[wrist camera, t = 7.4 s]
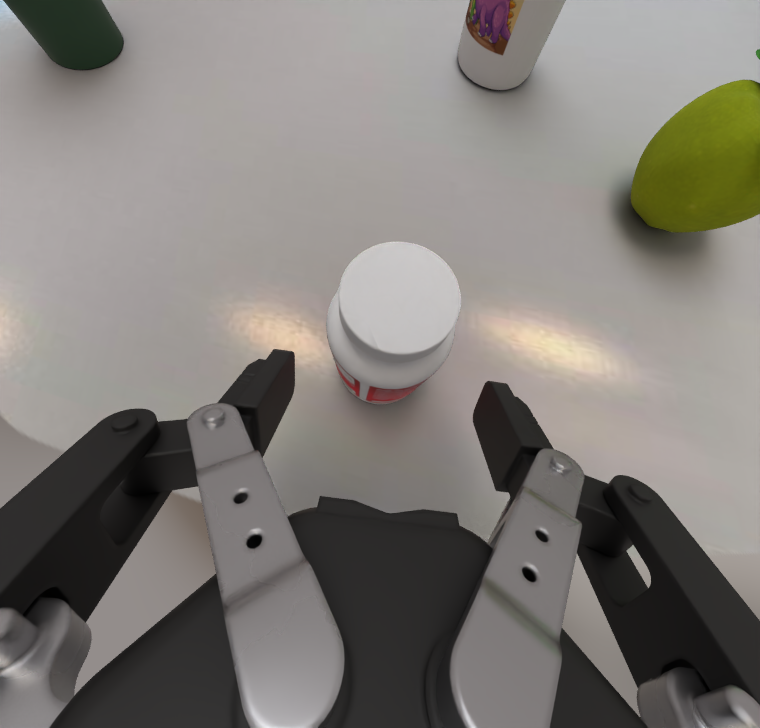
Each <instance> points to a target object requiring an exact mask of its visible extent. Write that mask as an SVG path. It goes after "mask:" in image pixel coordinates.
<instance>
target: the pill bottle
mask: <svg viewBox="0 0 760 728" xmlns="http://www.w3.org/2000/svg"><path fill="white" fill-rule="evenodd" d="M460 308H461V293H460V288H459V285H458V282H457V279H456V277H455V275H454V273H453V271H452V270H451V268H450V267H449V266H448V265H447V263H446V262H445V261H444V260H443V259H442V258H441V257H439V256H438V255H437V254H435V253H434V252H432V251H431V250H429V249H427V248H425V247H422V246H420V245H417V244H413V243H408V242H387V243H382V244H378V245H375V246H373V247H370V248H368V249H366V250H365V251H363V252H362V253H360V254H359V255H358V256H356V257H355V258H354V259H353V260H352V261H351V263H350V264H349V265H348V266H347V268H346V270H345V271H344V273H343V275H342V278H341V281H340V285H339V289H338V291H337V292H336V294H335V295H334V297H333V299H332V301H331V304H330V307H329V310H328V314H327V322H326V328H327V338H328V342H329V346H330V349H331V351H332V354H333V357H334V360H335V363H336V366H337V369H338V372H339V375H340V377H341V379H342V381H343V383H344V385H345V386H346V387H347V389H348V390H349V391H350V392H351V393H352V394H353V395H355V396H356V397H358V398H359V399H361V400H363V401H366V402H369V403H373V404H389V403H393V402H396V401H399V400H401V399H403V398H404V397H406V396H407V395H409V394H410V393H411V392H413V391H414V390H415V389H416V388H417V387H418V386H420V385H421V384H422V383H423V382H424V381H426V380H427V379H428V378H429V377H431V376H432V375H433V374H434V373H435V372H436V371H437V370H438V369H439V368H440V367H441V365H442V364H443V363H444V361H445V360H446V358H447V356H448V354H449V352H450V350H451V347H452V344H453V340H454V334H455V324H456V322H457V320H458V317H459V313H460Z"/></svg>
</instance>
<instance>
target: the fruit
mask: <svg viewBox="0 0 760 728" xmlns="http://www.w3.org/2000/svg"><path fill="white" fill-rule="evenodd" d="M756 55H757V57H758V58H759V59H760V49H759V50H757V51H756ZM631 203H632V206H633V208H634V210H635V211H636V212H637V213H638V214H639V215H640V216H641V217H642V219H643V220H644V221H645V223H646V224H647V225H649V226H651V227H655V228H660V229H664V230H667V231H669V232H698V231H706V230H712V229H717V228H721V227H726V226H729V225H733V224H736V223H739V222H742V221H744V220H747V219H749V218H752V217H754V216H756V215H758V214H760V83H758V82H755V81H752V80H739V81H734V82H730V83H727V84H725V85H722V86H719V87H717V88H715V89H713V90H711V91H709V92H707V93H705V94H703V95H702V96H700V97H698V98H697V99H695V100H694V101H692V102H691V103H689V104H688V105H686V106H685V107H684V108H682V109H681V110H680V111H679V112H677V113H676V114H675V115H674V116H673V117H672V118H671V119H670V120H669V121H668V122H666V123H665V124H664V126H663V127H662V128H661V129H660V130H659V131H658V132H657V133H656V135H655V136H654V137H653V139H652V140H651V141H650V142H649V144H648V145H647V147H646V149H645V150H644V152H643V154H642V156H641V158H640V160H639V163H638V166H637V168H636V171H635V175H634V179H633V184H632V189H631Z"/></svg>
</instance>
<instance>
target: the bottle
mask: <svg viewBox="0 0 760 728" xmlns="http://www.w3.org/2000/svg"><path fill="white" fill-rule="evenodd" d="M3 1H4V2H5V3H6V4H7V5H8V7H9V8H10V9H11V10H12V12H13V13H14V14H15V15H16V17H17V18H18V19H19V20H20V21H21V23H22V24H23V25H24V26H25V28H26V29H27V30H28V31H29V32H30V34H31V35H32V36H33V37H34V39H35V40H36V41H37V42H38V43H39V45H40V46H41V47H42V48H43V50H44V51H45V52H46V53H47V54H48V56H49V57H50V58H51V59H52V60H53V61H54V62H56V63H57V64H59V65H61V66H64V67H66V68H71V69H79V70H84V69H93V68H97V67H100V66H103V65H105V64H107V63H109V62H111V61H112V60H113V59H114V58H116V57H117V56H118V54H119V53H120V51H121V49H122V47H123V37H122V35H121V32H120V31H119V29H118V27H117V26H116V24H115V22H114V21H113V19H112V17H111V16H110V14H109V12H108V10H107V9H106V7H105V5H104V4H103V2H102V0H3Z"/></svg>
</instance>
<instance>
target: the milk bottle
mask: <svg viewBox="0 0 760 728" xmlns="http://www.w3.org/2000/svg"><path fill="white" fill-rule="evenodd" d="M565 1H566V0H470V3H469V7H468V11H467V15H466V19H465V22H464V26H463V30H462V34H461V38H460V43H459V47H458V61H459V64H460V67H461V69H462V71H463V72H464V73H465V74H466V76H467V77H468V78H470V79H471V80H472V81H473V82H475V83H477V84H479V85H481V86H483V87H486V88H490V89H494V90H507V89H511V88H514V87H516V86H518V85H520V84H521V83H522V82H523V81H524V80H525V79H526V78H527V77H528V76H529V74H530V73H531V71H532V69H533V67H534V65H535V63H536V61H537V59H538V57H539V55H540V53H541V50H542V48H543V46H544V44H545V42H546V40H547V38H548V36H549V34H550V32H551V30H552V28H553V26H554V24H555V21H556V19H557V17H558V15H559V13H560V11H561V9H562V7H563V5H564V3H565Z"/></svg>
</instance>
